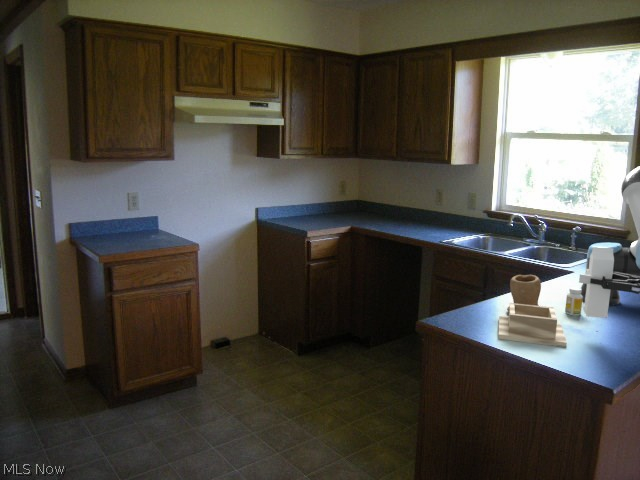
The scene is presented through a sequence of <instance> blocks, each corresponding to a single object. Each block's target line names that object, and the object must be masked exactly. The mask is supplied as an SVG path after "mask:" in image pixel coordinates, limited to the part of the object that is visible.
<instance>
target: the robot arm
mask: <svg viewBox="0 0 640 480" xmlns="http://www.w3.org/2000/svg"><path fill="white" fill-rule="evenodd" d="M620 192H621V196H622V199H623V201H624V203H626V204H627V205H628V207H629V210H630V214H631V216H632V220H633V223H634V226H635V229H636V232H637V233H636V234H637V235H638V239H637V240H635V241H633V242H632V243H631V245H630V247H623V246H622V244H621V243H619V242H596V243H593V244H591V245H590V246H589V247H588V249H587V254H586V265H585V274H584V273H579V280H578V283H580V284H582V285H581V286H580V289H582V291H581V295H582V296H583V300H582V302H584V303H585V297H586V288H587V284H591V285H597V286H602V288H603V289H610V290H611V291H610V299H609V306H618V305H620V303H621V294H620V292H627V293H633V294H636V295H639V294H640V166H637V167H636V168H633V170H631V171H630V172H629V173H628V174H626V176H625V177H624V180H623V182H622V184H621V191H620ZM593 247H601V248H613V256H614V266H613V274H612V279H605V276H603V277H597V276H591V275H588V270H589V261H590V254H591V253H592V248H593ZM607 283H608V285H607Z"/></svg>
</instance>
